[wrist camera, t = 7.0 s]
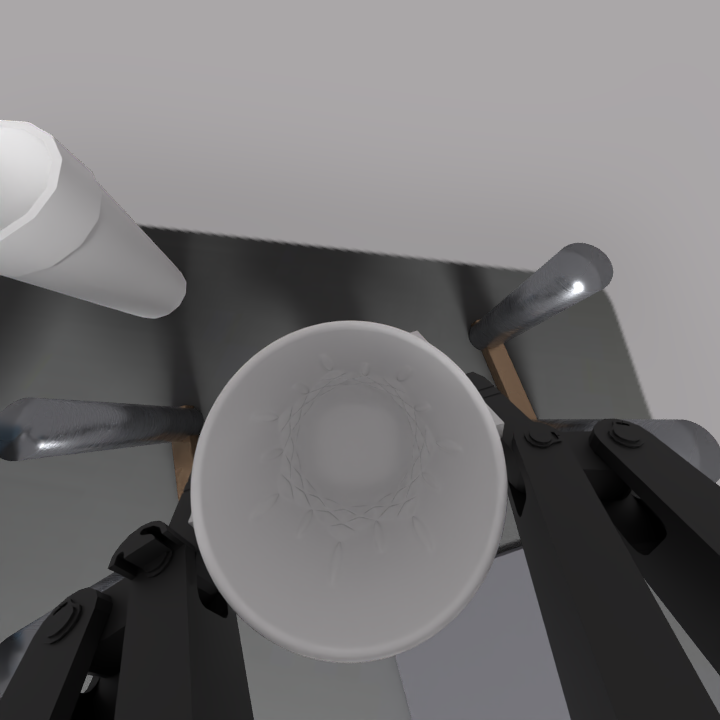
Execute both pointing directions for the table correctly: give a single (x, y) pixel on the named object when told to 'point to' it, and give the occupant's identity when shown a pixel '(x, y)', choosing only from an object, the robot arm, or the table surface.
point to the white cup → (349, 491)
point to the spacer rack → (183, 424)
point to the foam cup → (75, 231)
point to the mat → (488, 656)
